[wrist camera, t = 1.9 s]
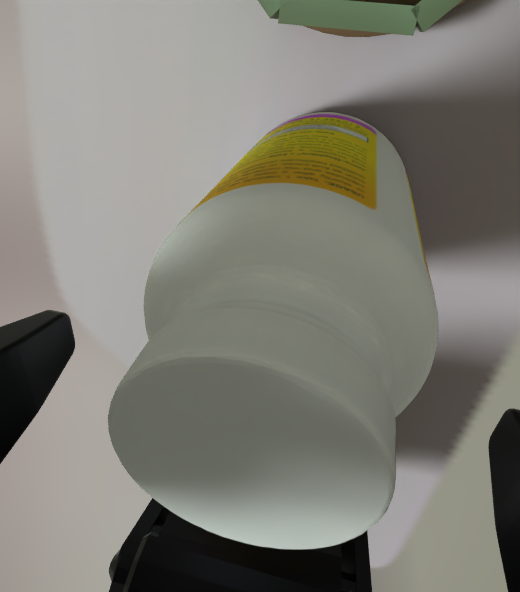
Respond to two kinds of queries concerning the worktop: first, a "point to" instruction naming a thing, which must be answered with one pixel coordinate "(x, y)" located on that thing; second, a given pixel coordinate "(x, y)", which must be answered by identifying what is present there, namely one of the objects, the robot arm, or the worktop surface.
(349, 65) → the worktop surface
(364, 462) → the supplement bottle
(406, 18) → the coaster ring
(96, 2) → the worktop surface
